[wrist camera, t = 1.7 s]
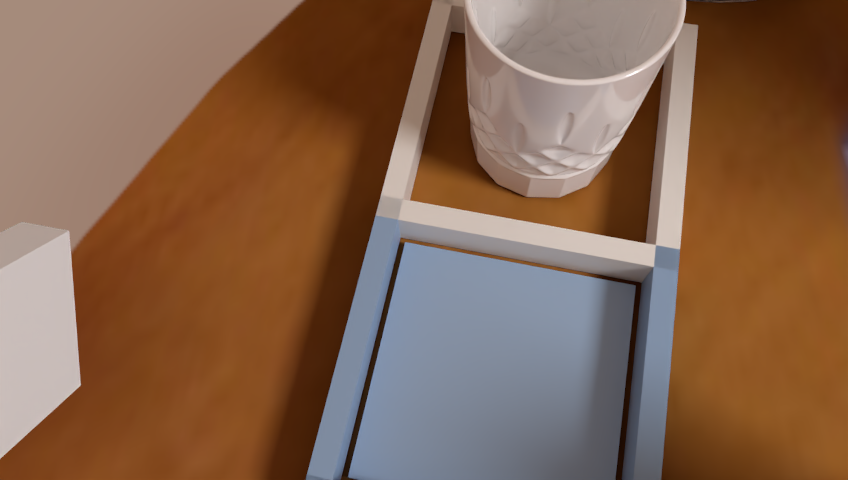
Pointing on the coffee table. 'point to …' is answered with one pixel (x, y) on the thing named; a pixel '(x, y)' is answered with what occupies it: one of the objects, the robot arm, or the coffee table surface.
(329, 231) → the coffee table surface
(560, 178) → the white cup
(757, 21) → the coffee table surface
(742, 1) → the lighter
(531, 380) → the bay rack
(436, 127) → the coffee table surface
